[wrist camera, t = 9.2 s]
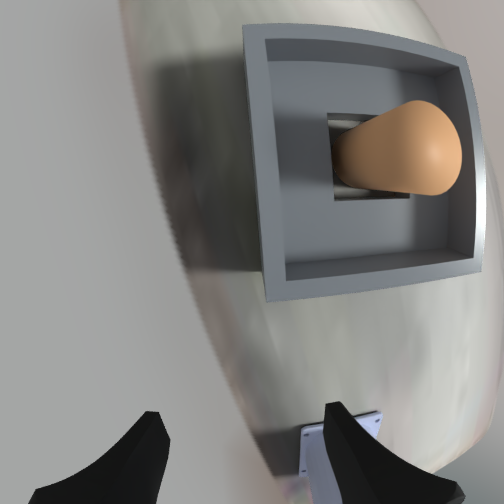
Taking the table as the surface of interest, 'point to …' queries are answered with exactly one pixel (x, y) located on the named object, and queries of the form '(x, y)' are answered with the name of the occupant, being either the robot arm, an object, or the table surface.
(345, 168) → the peg
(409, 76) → the box
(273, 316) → the table surface
